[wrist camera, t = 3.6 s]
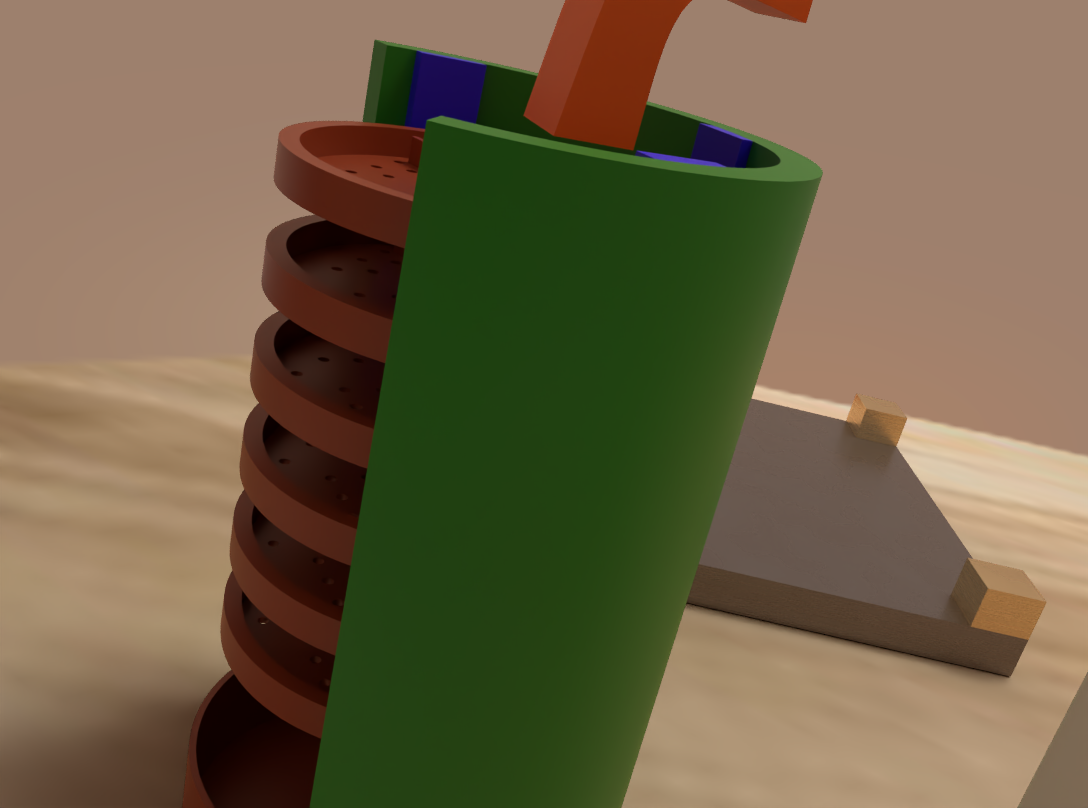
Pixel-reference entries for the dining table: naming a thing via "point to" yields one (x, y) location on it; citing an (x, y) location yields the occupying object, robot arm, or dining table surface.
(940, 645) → the plate
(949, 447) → the dining table surface
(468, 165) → the motor
